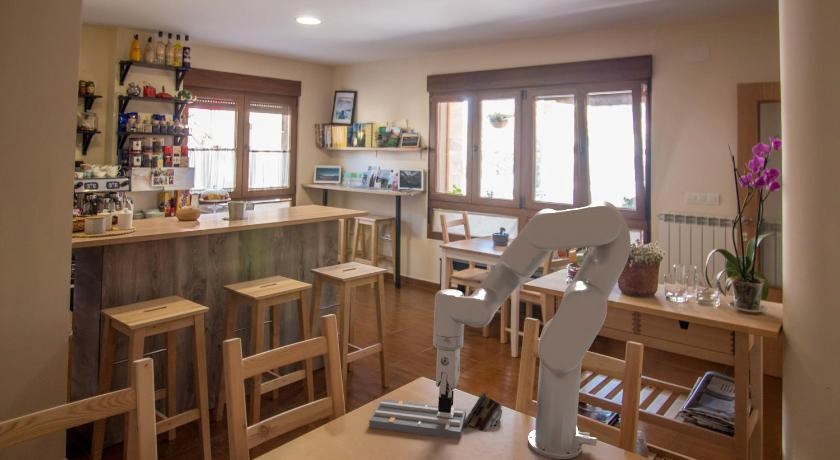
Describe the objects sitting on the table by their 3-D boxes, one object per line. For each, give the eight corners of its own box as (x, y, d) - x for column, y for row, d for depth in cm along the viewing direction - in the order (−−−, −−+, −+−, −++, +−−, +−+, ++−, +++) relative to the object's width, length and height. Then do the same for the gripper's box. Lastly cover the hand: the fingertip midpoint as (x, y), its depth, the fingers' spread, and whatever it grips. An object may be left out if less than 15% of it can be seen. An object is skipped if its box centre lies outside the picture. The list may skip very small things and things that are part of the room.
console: (465, 416, 142) (466, 406, 142) (460, 439, 131) (460, 428, 130) (381, 406, 147) (382, 396, 146) (369, 427, 135) (369, 417, 135)
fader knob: (453, 414, 138) (454, 389, 137) (452, 420, 135) (453, 394, 134) (438, 412, 139) (439, 387, 138) (436, 418, 136) (437, 393, 135)
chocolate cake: (486, 439, 133) (509, 396, 138) (461, 424, 135) (484, 383, 140) (488, 447, 140) (509, 407, 145) (464, 433, 143) (486, 394, 148)
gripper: (459, 352, 126) (456, 426, 128) (466, 330, 141) (464, 396, 144) (427, 349, 127) (425, 422, 130) (438, 327, 143) (436, 393, 146)
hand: (445, 407), depth 137 cm, fingers closed on fader knob, 3 cm apart
